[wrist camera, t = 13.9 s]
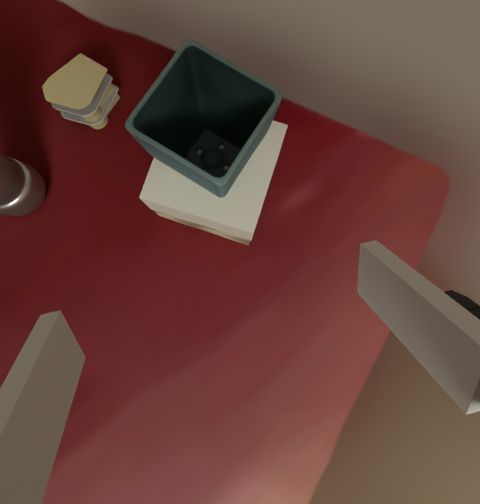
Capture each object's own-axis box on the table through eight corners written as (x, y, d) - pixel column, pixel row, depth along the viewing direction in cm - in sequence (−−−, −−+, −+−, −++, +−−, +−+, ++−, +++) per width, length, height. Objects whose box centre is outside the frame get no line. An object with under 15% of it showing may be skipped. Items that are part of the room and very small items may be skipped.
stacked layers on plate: (89, 64, 43) (68, 31, 37) (144, 96, 42) (130, 68, 37) (46, 123, 42) (17, 98, 36) (102, 157, 41) (81, 137, 36)
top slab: (151, 209, 36) (139, 197, 32) (185, 115, 38) (178, 91, 33) (251, 240, 36) (253, 233, 31) (281, 145, 37) (287, 125, 33)
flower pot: (200, 103, 33) (186, 34, 24) (272, 146, 33) (285, 91, 24) (152, 172, 32) (121, 126, 23) (226, 217, 32) (223, 188, 23)
